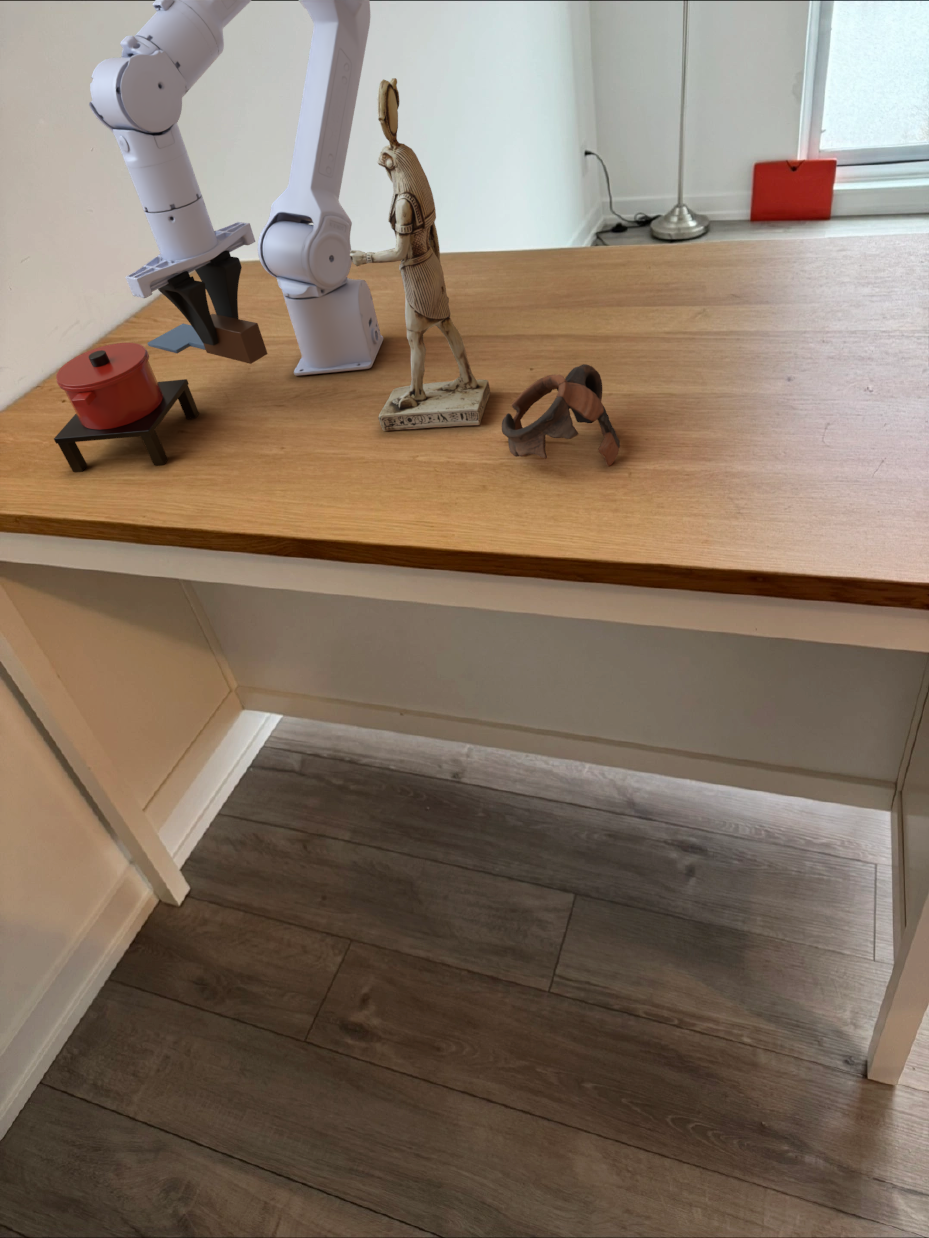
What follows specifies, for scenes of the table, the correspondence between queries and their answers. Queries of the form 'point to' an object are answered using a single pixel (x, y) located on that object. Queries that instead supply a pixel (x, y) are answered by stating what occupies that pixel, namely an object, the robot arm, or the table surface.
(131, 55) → the robot arm
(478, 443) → the table surface
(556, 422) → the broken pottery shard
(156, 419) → the pot
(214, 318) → the spatula
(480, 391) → the statue
